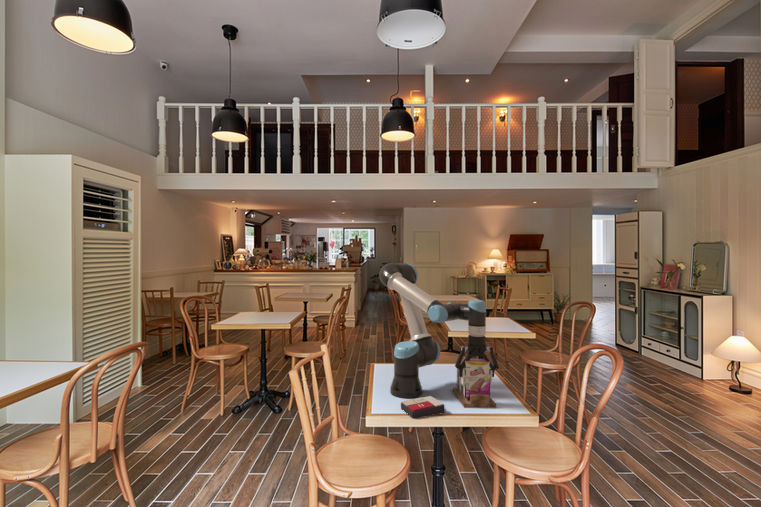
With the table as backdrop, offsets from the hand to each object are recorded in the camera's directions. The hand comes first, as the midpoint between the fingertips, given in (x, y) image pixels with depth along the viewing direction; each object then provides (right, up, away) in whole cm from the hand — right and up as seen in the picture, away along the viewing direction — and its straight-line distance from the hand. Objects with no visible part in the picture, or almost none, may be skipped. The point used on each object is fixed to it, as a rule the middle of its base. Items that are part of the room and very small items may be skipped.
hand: (476, 384), depth 162 cm
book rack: (0, -8, +5) cm, 10 cm away
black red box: (-25, -8, -10) cm, 28 cm away
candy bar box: (0, -6, 0) cm, 6 cm away
